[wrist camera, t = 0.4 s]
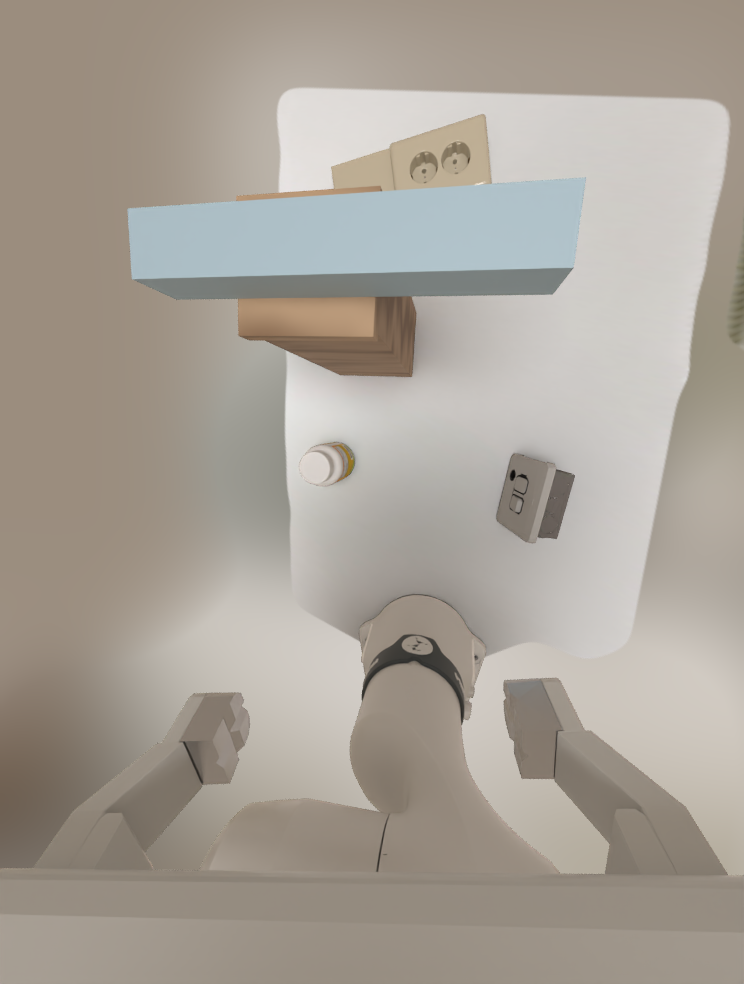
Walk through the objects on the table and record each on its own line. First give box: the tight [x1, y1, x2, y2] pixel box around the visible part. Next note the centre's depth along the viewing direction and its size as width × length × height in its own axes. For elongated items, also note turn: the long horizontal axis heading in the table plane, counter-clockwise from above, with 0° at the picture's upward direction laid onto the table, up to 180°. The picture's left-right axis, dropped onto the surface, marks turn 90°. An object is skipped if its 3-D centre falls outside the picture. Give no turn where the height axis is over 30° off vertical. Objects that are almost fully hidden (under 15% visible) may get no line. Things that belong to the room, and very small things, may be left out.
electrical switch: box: [497, 454, 575, 543], centre depth 46 cm, size 9×5×9 cm, turn 171°
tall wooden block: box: [236, 186, 416, 377], centre depth 38 cm, size 9×10×26 cm
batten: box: [128, 177, 586, 300], centre depth 23 cm, size 4×26×4 cm, turn 88°
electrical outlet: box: [331, 114, 491, 191], centre depth 45 cm, size 7×4×18 cm
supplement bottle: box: [299, 442, 355, 486], centre depth 50 cm, size 5×5×10 cm
